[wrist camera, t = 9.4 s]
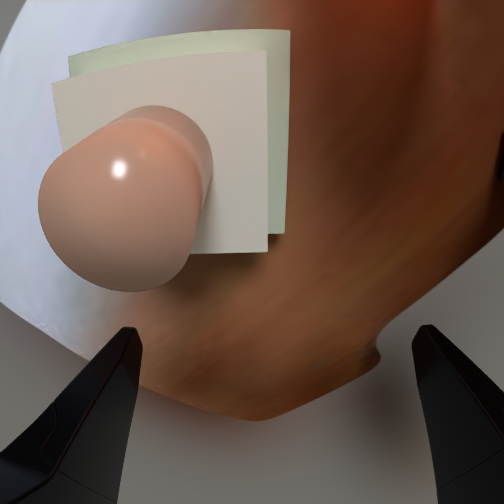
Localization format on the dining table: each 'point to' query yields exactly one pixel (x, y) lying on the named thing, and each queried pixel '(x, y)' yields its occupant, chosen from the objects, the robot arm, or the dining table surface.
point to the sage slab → (213, 42)
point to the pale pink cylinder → (128, 199)
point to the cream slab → (206, 117)
